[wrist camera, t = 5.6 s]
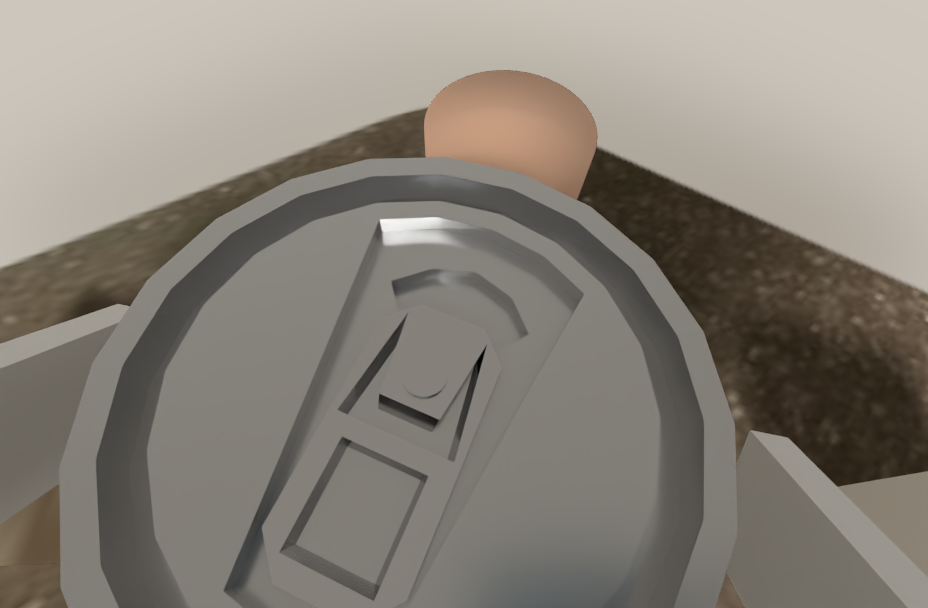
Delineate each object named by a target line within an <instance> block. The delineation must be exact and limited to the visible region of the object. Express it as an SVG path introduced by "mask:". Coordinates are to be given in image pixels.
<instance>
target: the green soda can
mask: <svg viewBox="0 0 928 608" xmlns="http://www.w3.org/2000/svg"><path fill="white" fill-rule="evenodd" d="M59 487H60V570H61V590H62V593H63V595H64V598H65V600H66V603H67V605H68V608H715V607H716V604H717V600H718V597H719V594H720V590H721V587H722V584H723V581H724V577H725V574H726V571H727V567H728V564H729V561H730V558H731V554H732V551H733V548H734V544H735V541H736V538H737V535H738V523H737V485H736V448H735V423H734V420H733V417H732V414H731V411H730V408H729V405H728V402H727V399H726V396H725V393H724V391H723V388H722V385H721V382H720V379H719V376H718V373H717V370H716V367H715V364H714V361H713V358H712V355H711V352H710V349H709V346H708V343H707V340H706V337H705V334H704V332H703V330H702V329H701V327H700V326H699V324H698V323H697V322H696V320H695V319H694V317H693V316H692V314H691V313H690V311H689V310H688V309H687V307H686V306H685V304H684V303H683V301H682V300H681V298H680V297H679V296H678V294H677V293H676V291H675V290H674V288H673V287H672V286H671V284H670V283H669V281H668V280H667V278H666V277H665V275H664V274H663V273H662V271H661V270H660V268H659V267H658V265H657V264H656V263H655V261H654V260H653V259H652V258H651V257H650V256H649V255H648V254H646V253H645V252H644V251H643V250H642V249H640V248H639V247H638V246H637V245H636V244H634V243H633V242H632V241H631V240H630V239H629V238H627V237H626V236H625V235H624V234H623V233H621V232H620V231H619V230H618V229H617V228H615V227H614V226H613V225H612V224H611V223H609V222H608V221H607V220H606V219H605V218H604V217H602V216H601V215H600V214H599V213H598V212H596V211H595V210H594V209H593V208H592V207H590V206H588V205H586V204H584V203H582V202H580V201H578V200H576V199H574V198H572V197H569V196H567V195H565V194H563V193H561V192H559V191H557V190H555V189H553V188H551V187H549V186H547V185H545V184H542V183H540V182H538V181H536V180H534V179H532V178H530V177H528V176H526V175H524V174H522V173H518V172H514V171H509V170H504V169H499V168H495V167H490V166H485V165H481V164H476V163H471V162H466V161H462V160H457V159H452V158H447V157H430V158H390V159H367V160H363V161H359V162H355V163H351V164H347V165H344V166H340V167H336V168H332V169H328V170H324V171H321V172H317V173H313V174H309V175H305V176H301V177H297V178H294V179H290V180H289V181H287V182H285V183H283V184H281V185H279V186H277V187H275V188H273V189H272V190H270V191H268V192H266V193H264V194H262V195H260V196H258V197H256V198H255V199H253V200H251V201H249V202H247V203H245V204H243V205H241V206H239V207H238V208H236V209H234V210H232V211H230V212H228V213H226V214H224V215H222V216H221V217H219V218H217V219H215V220H214V221H213V222H212V223H211V224H210V225H209V226H208V227H206V228H205V229H204V230H203V231H202V232H201V233H200V234H199V235H197V236H196V237H195V238H194V239H193V240H192V241H191V242H190V243H188V244H187V245H186V246H185V247H184V248H183V249H182V250H181V251H179V252H178V253H177V254H176V255H175V256H174V257H173V258H172V259H170V260H169V261H168V262H167V263H166V264H165V265H164V266H163V267H161V268H160V269H159V270H158V271H157V272H156V273H155V274H154V275H152V276H151V277H150V278H149V279H148V280H147V282H146V283H145V285H144V286H143V288H142V289H141V291H140V292H139V294H138V295H137V297H136V298H135V300H134V301H133V303H132V304H131V306H130V307H129V309H128V310H127V312H126V313H125V315H124V316H123V318H122V319H121V321H120V322H119V324H118V325H117V327H116V328H115V330H114V331H113V333H112V334H111V336H110V337H109V339H108V340H107V342H106V343H105V345H104V346H103V348H102V349H101V351H100V352H99V354H98V355H97V357H96V358H95V360H94V361H93V363H92V366H91V369H90V372H89V375H88V378H87V382H86V385H85V388H84V391H83V394H82V397H81V401H80V404H79V407H78V410H77V413H76V416H75V420H74V423H73V426H72V429H71V432H70V435H69V438H68V442H67V445H66V448H65V451H64V454H63V457H62V461H61V464H60V467H59Z"/></svg>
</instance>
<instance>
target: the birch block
mask: <svg viewBox="0 0 928 608" xmlns="http://www.w3.org/2000/svg"><path fill="white" fill-rule="evenodd" d="M46 564H60V487H59V484H58V485H57V486H55V487H54V488H52V489H51V490H49V491H48V492H47V493H45V494H44V495H42V496H41V497H39V498H38V499H36V500H35V501H34V502H32V503H31V504H29V505H28V506H26V507H25V508H23V509H22V510H20V511H19V512H18V513H16V514H15V515H13V516H12V517H10V518H9V519H7V520H6V521H5V522H3V523H2V524H0V566H10V565H46Z"/></svg>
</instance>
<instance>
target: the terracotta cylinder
mask: <svg viewBox="0 0 928 608" xmlns="http://www.w3.org/2000/svg"><path fill="white" fill-rule="evenodd" d="M424 136H425V157H426V158H430V157H447V158H452V159H457V160H462V161H466V162H471V163H476V164H481V165H485V166H490V167H495V168H499V169H504V170H509V171H514V172H518V173H522V174H524V175H526V176H528V177H530V178H532V179H534V180H536V181H538V182H540V183H542V184H545V185H547V186H549V187H551V188H553V189H555V190H557V191H559V192H561V193H563V194H565V195H567V196H569V197H572V198H574V199H576V200H577V199H578V196H579V193H580V191H581V188H582V185H583V183H584V180H585V177H586V175H587V172H588V169H589V167H590V164H591V161H592V159H593V156H594V153H595V150H596V146H597V129H596V125H595V121H594V119H593V117H592V115H591V113H590V111H589V110H588V108H587V107H586V105H585V104H584V103H583V102H582V101H581V100H580V99H579V98H578V97H577V96H576V95H575V94H574V93H572V92H571V91H570V90H568V89H567V88H565V87H564V86H562V85H560V84H558V83H556V82H554V81H552V80H550V79H547V78H545V77H542V76H539V75H535V74H531V73H527V72H520V71H511V70H496V71H486V72H481V73H476V74H472V75H469V76H466V77H464V78H461V79H459V80H457V81H455V82H453V83H451V84H450V85H448V86H447V87H445V88H444V89H443V90H442V91H441V92H440V93H439V94H438V95H437V96H436V97H435V98H434V99H433V101H432V102H431V104H430V106H429V107H428V110H427V112H426V115H425V121H424Z"/></svg>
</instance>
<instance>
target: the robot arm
mask: <svg viewBox="0 0 928 608" xmlns="http://www.w3.org/2000/svg"><path fill="white" fill-rule="evenodd" d="M129 307H130V306H126V305H121V304H116V305H113V306H110V307H107V308H104V309H101V310H98V311H95V312H92V313H89V314H86V315H84V316H81V317H78V318H75V319H72V320H69V321H66V322H63V323H60V324H57V325H54V326H51V327H48V328H45V329H43V330H40V331H37V332H34V333H31V334H28V335H25V336H22V337H19V338H16V339H13V340H10V341H7V342H4V343H1V344H0V524H2V523H3V522H5V521H6V520H7V519H9V518H10V517H12V516H13V515H15V514H16V513H18V512H19V511H20V510H22V509H23V508H25V507H26V506H28V505H29V504H31V503H32V502H34V501H35V500H36V499H38V498H39V497H41V496H42V495H44V494H45V493H47V492H48V491H49V490H51V489H52V488H54V487H55V486H57V485H58V484H59V467H60V464H61V461H62V457H63V454H64V451H65V448H66V445H67V442H68V438H69V435H70V432H71V429H72V426H73V423H74V420H75V416H76V413H77V410H78V407H79V404H80V401H81V397H82V394H83V391H84V388H85V385H86V382H87V378H88V375H89V372H90V369H91V366H92V363H93V361H94V360H95V358H96V357H97V355H98V354H99V352H100V351H101V349H102V348H103V346H104V345H105V343H106V342H107V340H108V339H109V337H110V336H111V334H112V333H113V331H114V330H115V328H116V327H117V325H118V324H119V322H120V321H121V319H122V318H123V316H124V315H125V313H126V312H127V310H128V309H129ZM736 485H737V523H738V535H737V538H736V541H735V544H734V548H733V551H732V554H731V558H730V561H729V564H728V567H727V571H726V573H727V574H728V576H729V578H730V580H731V582H732V584H733V586H734V588H735V590H736V592H737V594H738V596H739V598H740V600H741V602H742V604H743V605H744V607H745V608H928V577H927V576H926V575H925V574H924V573H923V572H922V571H921V570H920V569H919V568H918V567H917V566H916V565H915V564H914V563H913V562H912V561H911V560H910V559H909V558H908V557H907V556H906V555H905V554H904V553H903V552H902V551H901V550H900V549H899V548H898V547H897V546H896V545H895V544H894V543H893V542H892V541H891V540H890V539H889V538H888V537H887V536H886V535H885V534H884V533H883V532H882V531H881V530H880V529H879V528H878V527H877V526H876V525H875V524H874V523H873V522H872V521H871V520H870V519H869V518H868V517H867V516H866V515H865V514H864V513H863V512H862V511H861V510H860V509H859V508H858V507H857V506H856V505H855V504H854V503H853V502H852V501H851V500H850V499H849V498H848V497H847V496H846V495H845V494H844V493H843V492H842V491H841V490H840V489H839V488H838V487H837V486H836V485H835V484H834V483H833V482H832V481H831V480H830V479H829V478H828V477H827V476H826V475H825V474H824V473H823V472H822V471H821V470H820V469H819V468H818V467H817V466H816V465H815V464H814V463H813V462H812V461H811V460H810V459H809V458H808V457H807V456H806V455H805V454H804V453H803V452H802V451H801V450H800V449H799V448H798V447H797V446H796V445H795V444H794V443H793V442H792V441H791V440H790V439H789V438H787V437H782V436H777V435H772V434H767V433H762V432H757V431H752V430H750V431H749V434H748V436H747V439H746V441H745V444H744V447H743V449H742V452H741V454H740V457H739V459H738V462H737V464H736Z"/></svg>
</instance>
